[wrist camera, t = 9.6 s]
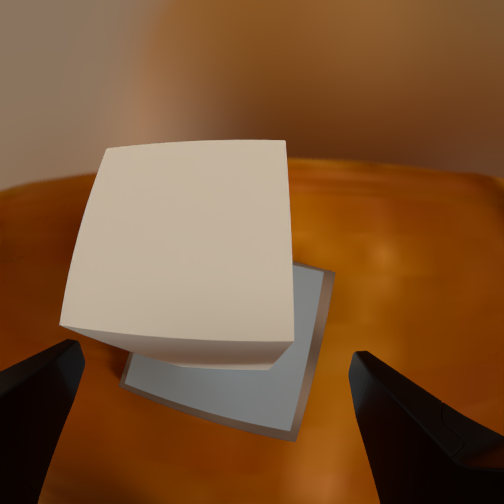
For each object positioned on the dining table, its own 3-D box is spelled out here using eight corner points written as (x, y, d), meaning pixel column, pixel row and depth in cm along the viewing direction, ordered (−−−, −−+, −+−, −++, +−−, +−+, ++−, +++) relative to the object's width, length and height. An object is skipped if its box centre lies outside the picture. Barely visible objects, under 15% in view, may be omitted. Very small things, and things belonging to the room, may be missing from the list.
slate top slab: (285, 426, 17) (290, 431, 15) (135, 384, 18) (124, 383, 16) (317, 282, 21) (323, 272, 19) (179, 250, 22) (174, 237, 20)
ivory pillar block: (267, 370, 16) (294, 341, 6) (180, 366, 16) (59, 325, 6) (268, 286, 18) (285, 140, 8) (186, 285, 19) (107, 148, 8)
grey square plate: (290, 436, 19) (295, 442, 16) (131, 387, 20) (118, 386, 18) (327, 284, 24) (335, 272, 21) (182, 246, 25) (176, 231, 22)
